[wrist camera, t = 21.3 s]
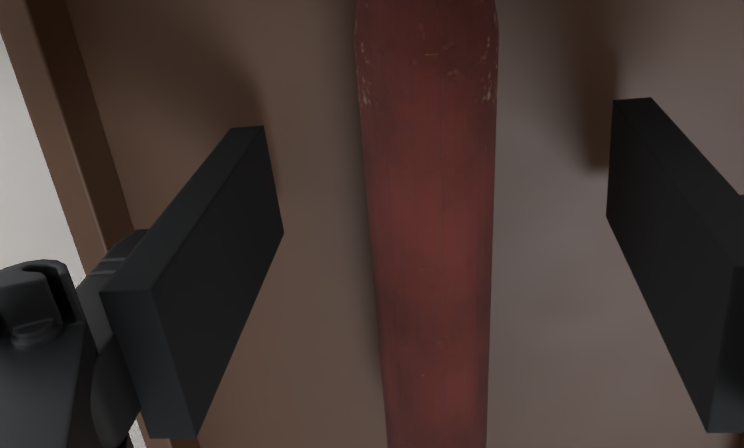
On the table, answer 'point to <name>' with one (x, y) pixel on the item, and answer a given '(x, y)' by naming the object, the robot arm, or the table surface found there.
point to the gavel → (430, 209)
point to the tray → (349, 200)
